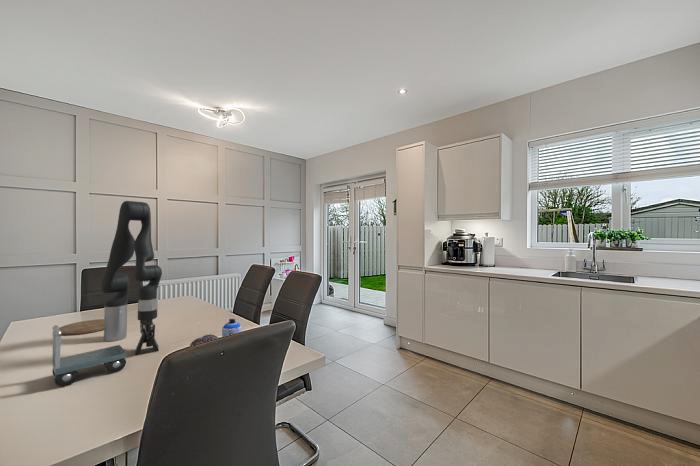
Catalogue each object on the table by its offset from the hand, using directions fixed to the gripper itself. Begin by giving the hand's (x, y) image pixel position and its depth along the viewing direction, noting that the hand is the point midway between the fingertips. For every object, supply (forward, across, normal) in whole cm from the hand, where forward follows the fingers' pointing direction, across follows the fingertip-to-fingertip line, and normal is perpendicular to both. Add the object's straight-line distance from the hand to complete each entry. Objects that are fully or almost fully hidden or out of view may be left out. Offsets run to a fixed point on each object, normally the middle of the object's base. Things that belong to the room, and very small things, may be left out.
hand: (147, 344), depth 134 cm
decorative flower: (+3, +31, +12) cm, 33 cm away
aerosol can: (+3, +45, +18) cm, 49 cm away
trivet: (+4, -63, -13) cm, 65 cm away
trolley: (+3, +10, -21) cm, 23 cm away
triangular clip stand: (+3, 0, 0) cm, 3 cm away
